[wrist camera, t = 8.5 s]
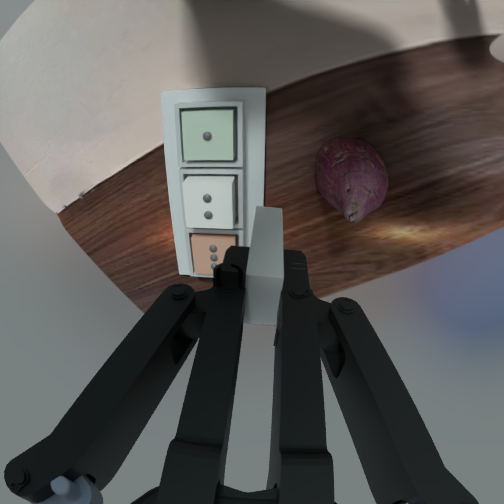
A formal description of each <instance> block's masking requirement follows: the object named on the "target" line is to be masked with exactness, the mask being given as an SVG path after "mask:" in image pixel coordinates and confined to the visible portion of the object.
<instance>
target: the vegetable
mask: <svg viewBox="0 0 504 504" xmlns="http://www.w3.org/2000/svg"><path fill="white" fill-rule="evenodd" d="M315 181H316V186H317V188H318V190H319V192H320V193H321V195H322V196H323V197H324V198H325V199H326V200H327V201H328V202H329V203H330V204H331V205H332V206H333V207H334V208H335V209H337V210H338V211H340V212H342V214H343V216H344V217H345V218H346V219H347V220H348V221H350V222H359V221H361V220H362V219H363V218H364V217H365V216H366V215H367V214H369V213H371V212H373V211H374V210H376V209H377V208H378V207H379V206H380V205H381V204H382V203H383V201H384V199H385V197H386V194H387V190H388V185H389V176H388V171H387V167H386V165H385V162H384V160H383V158H382V157H381V155H380V154H379V153H378V152H377V151H376V150H375V149H374V148H373V147H372V146H371V145H369V144H368V143H366V142H363V141H361V140H360V139H359V138H356V139H353V138H336V139H333V140H330V141H328V142H326V143H325V144H324V145H323V146H322V147H321V149H320V150H319V152H318V155H317V158H316V164H315Z"/></svg>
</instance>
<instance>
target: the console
mask: <svg viewBox="0 0 504 504" xmlns="http://www.w3.org/2000/svg"><path fill="white" fill-rule="evenodd" d="M161 108H162V124H163V138H164V151H165V162H166V173H167V183H168V192H169V201H170V209H171V217H172V225H173V233H174V240H175V247H176V254H177V261H178V267H179V274H184V275H190V276H197V277H213V275H212V274H195V268H194V260H193V251H192V242H191V237H192V235H193V233H214V234H237V242H238V246H244V247H250V244H251V237H252V231H253V224H254V218H255V211H256V206H261V207H264V168H265V120H266V88H260V87H229V88H202V89H186V90H174V91H163V92H161ZM215 108H236V156H235V158H234V160H184V150H183V134H182V115H181V112H183V111H186V110H190V109H215ZM188 176H235V212H236V219H235V223H234V227H233V229H218V228H188V227H186V219H185V209H184V198H183V187H182V183H183V182H184V180H185V179H186V178H187V177H188Z"/></svg>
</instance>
